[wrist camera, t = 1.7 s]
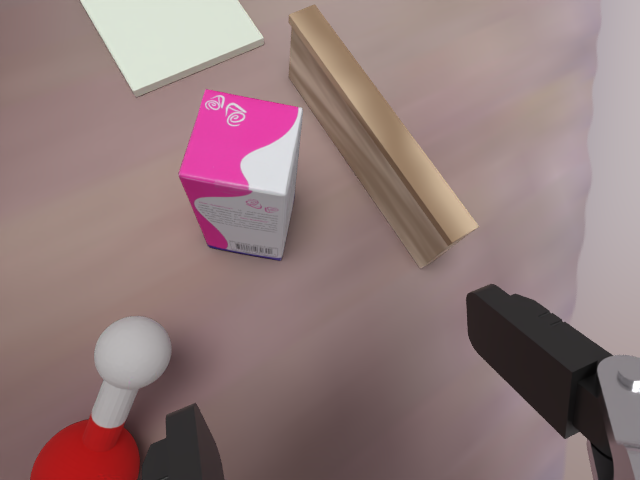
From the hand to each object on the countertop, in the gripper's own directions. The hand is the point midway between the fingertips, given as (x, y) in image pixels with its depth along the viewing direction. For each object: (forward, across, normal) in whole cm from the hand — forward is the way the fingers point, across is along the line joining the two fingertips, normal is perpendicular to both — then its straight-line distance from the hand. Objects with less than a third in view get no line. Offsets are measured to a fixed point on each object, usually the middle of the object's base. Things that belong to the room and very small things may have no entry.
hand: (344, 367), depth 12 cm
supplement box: (+23, -1, +5) cm, 24 cm away
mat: (+37, 0, -9) cm, 38 cm away
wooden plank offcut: (+24, -10, +4) cm, 27 cm away
